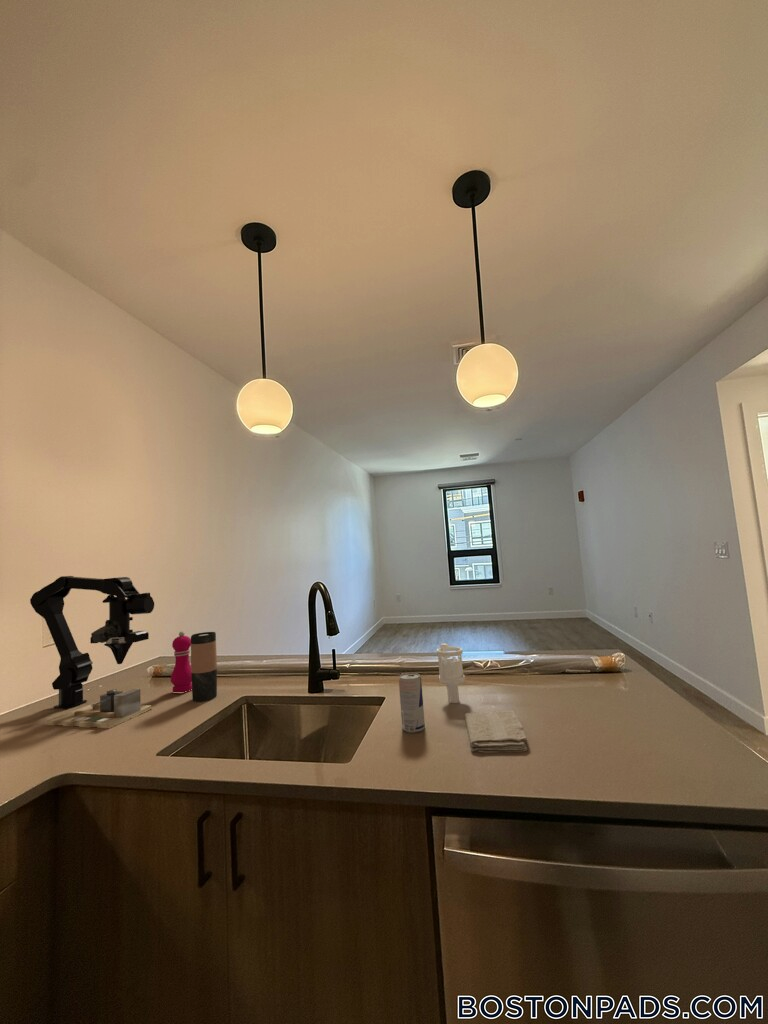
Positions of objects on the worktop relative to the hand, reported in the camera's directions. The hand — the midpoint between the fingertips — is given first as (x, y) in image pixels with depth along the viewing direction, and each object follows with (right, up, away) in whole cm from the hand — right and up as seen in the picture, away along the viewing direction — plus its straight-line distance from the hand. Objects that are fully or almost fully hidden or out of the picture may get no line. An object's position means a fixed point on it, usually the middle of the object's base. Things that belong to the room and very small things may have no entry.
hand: (119, 664), depth 138 cm
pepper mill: (+18, -12, +6) cm, 22 cm away
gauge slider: (+7, -8, -18) cm, 21 cm away
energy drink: (+94, -1, -39) cm, 101 cm away
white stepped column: (+106, -2, -22) cm, 108 cm away
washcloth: (+111, 0, -45) cm, 120 cm away
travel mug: (+29, -10, -3) cm, 31 cm away
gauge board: (+4, -10, -15) cm, 18 cm away
